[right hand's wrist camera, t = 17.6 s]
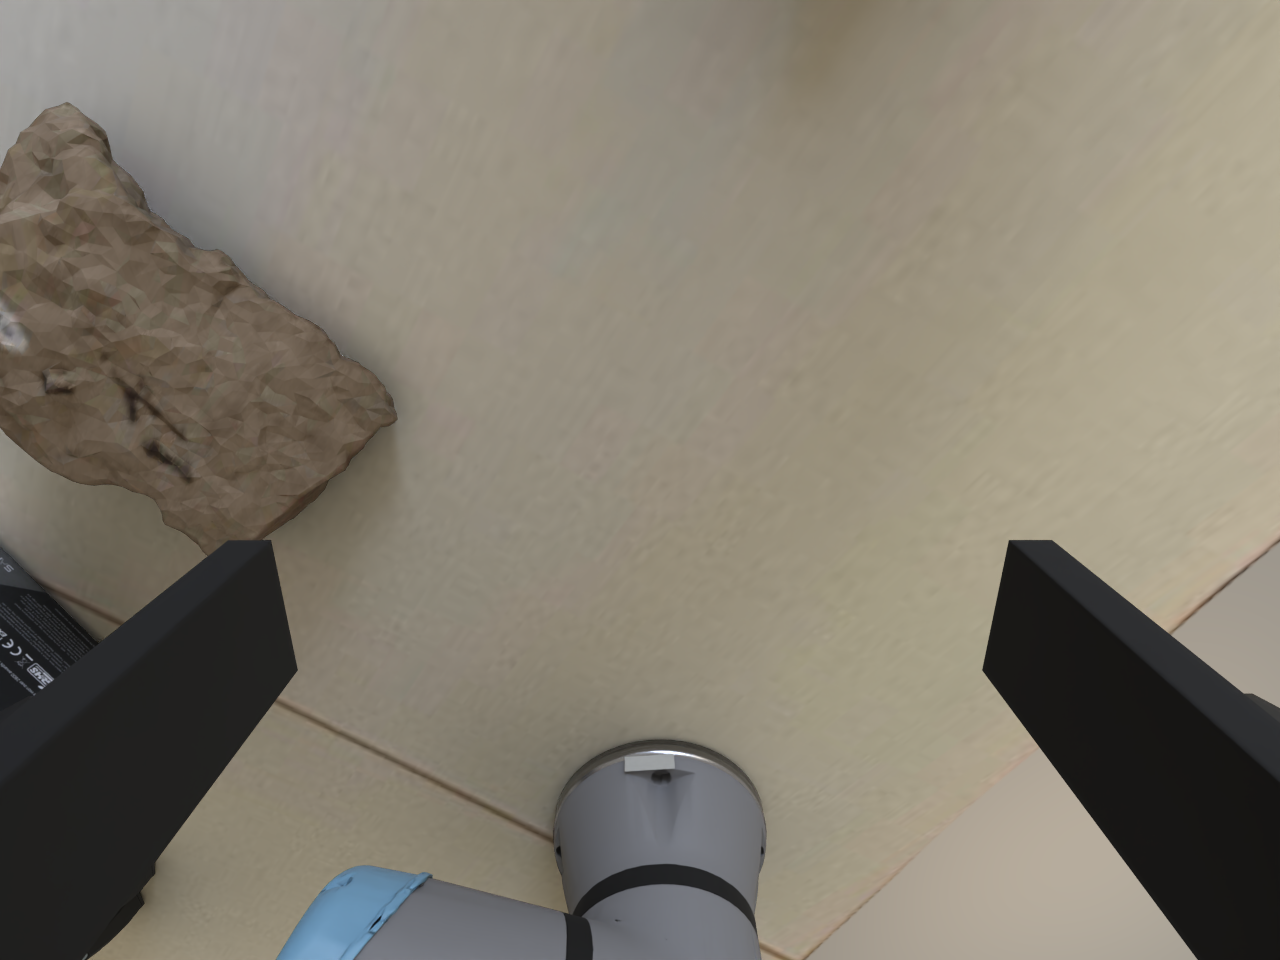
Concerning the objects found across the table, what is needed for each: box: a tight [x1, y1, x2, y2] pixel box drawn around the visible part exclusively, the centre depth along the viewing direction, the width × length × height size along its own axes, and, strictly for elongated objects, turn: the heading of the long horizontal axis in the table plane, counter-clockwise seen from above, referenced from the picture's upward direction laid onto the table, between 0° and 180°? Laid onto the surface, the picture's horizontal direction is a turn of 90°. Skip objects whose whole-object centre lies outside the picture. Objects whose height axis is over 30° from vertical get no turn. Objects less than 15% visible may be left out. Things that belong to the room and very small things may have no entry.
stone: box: [0, 102, 397, 556], centre depth 37 cm, size 21×15×6 cm
